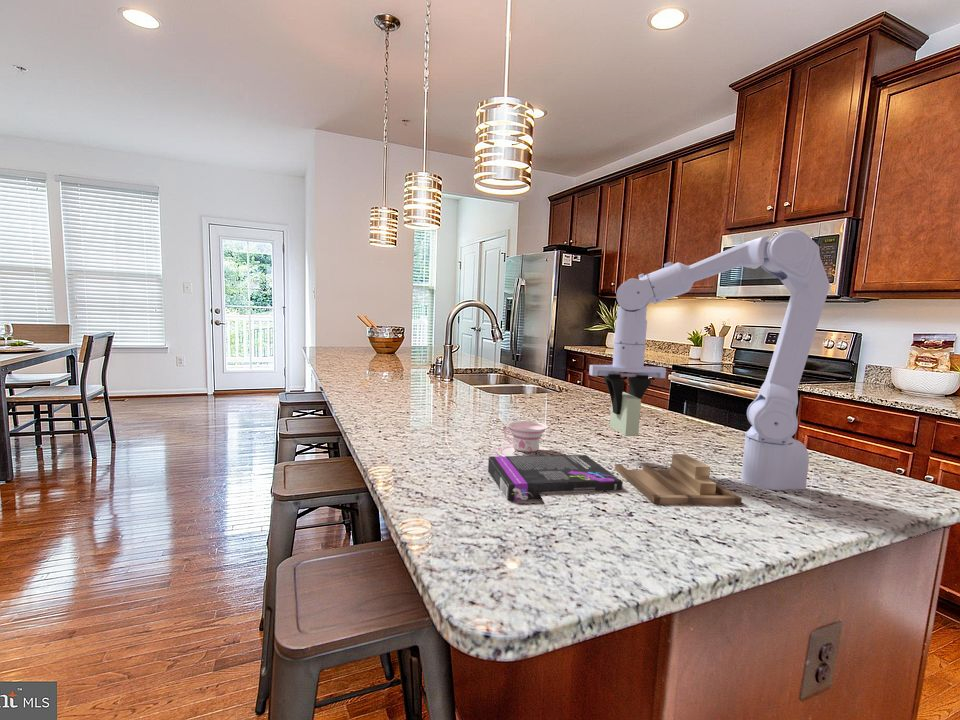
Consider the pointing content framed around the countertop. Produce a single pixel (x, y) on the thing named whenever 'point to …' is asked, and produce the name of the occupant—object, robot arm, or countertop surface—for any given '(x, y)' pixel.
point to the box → (549, 475)
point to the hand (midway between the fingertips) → (624, 413)
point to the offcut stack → (692, 474)
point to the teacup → (523, 437)
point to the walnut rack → (672, 488)
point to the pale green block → (627, 416)
